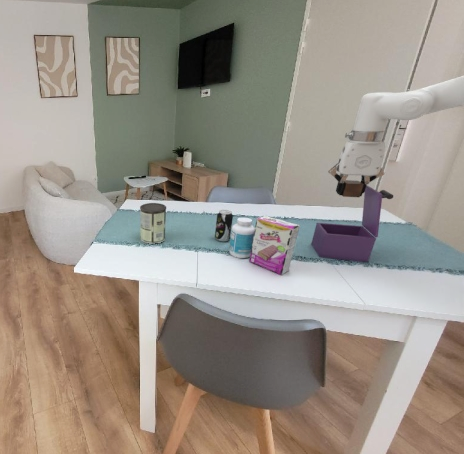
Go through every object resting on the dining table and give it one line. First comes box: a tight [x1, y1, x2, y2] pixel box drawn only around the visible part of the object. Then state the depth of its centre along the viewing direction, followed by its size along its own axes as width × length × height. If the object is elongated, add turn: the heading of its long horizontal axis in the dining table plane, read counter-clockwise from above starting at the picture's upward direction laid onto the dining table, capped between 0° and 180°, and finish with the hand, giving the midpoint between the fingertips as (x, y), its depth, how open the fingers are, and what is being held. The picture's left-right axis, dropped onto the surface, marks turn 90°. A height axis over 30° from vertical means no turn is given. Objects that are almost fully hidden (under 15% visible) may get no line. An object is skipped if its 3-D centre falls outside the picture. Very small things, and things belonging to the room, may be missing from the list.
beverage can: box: [214, 209, 234, 243], centre depth 115 cm, size 6×6×12 cm
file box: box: [311, 222, 377, 263], centre depth 101 cm, size 14×11×9 cm
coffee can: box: [139, 202, 167, 245], centre depth 118 cm, size 10×10×14 cm
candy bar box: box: [248, 214, 301, 276], centre depth 94 cm, size 11×5×16 cm, turn 34°
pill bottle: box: [228, 216, 255, 259], centre depth 103 cm, size 8×7×14 cm
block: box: [341, 179, 364, 198], centre depth 94 cm, size 4×4×4 cm
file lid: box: [361, 184, 394, 238], centre depth 94 cm, size 14×11×4 cm
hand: (348, 194), depth 95 cm, fingers closed on block, 4 cm apart
